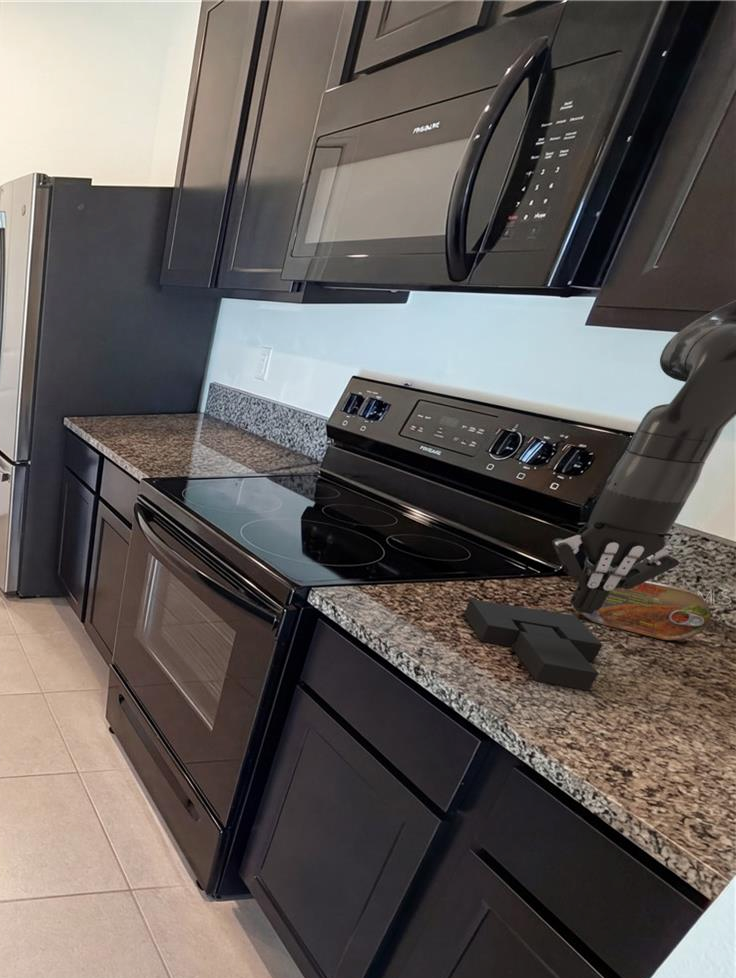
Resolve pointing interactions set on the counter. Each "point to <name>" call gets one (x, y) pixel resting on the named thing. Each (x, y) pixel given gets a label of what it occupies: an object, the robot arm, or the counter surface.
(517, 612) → the notch pad
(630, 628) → the tin
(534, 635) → the pad
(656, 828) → the counter surface
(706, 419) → the robot arm
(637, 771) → the counter surface
